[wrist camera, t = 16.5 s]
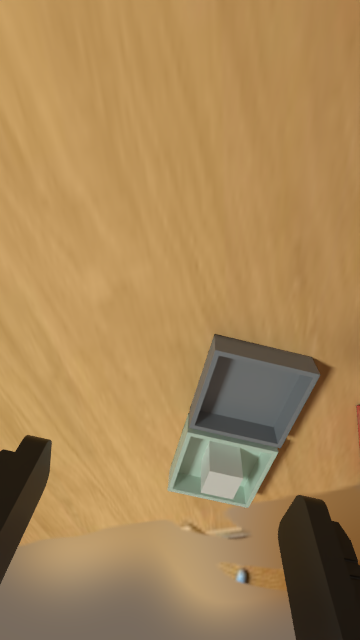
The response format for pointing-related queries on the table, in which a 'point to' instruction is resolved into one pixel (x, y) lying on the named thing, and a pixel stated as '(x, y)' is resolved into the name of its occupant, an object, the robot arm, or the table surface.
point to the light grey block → (221, 470)
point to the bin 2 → (190, 456)
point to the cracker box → (359, 416)
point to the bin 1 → (251, 391)
